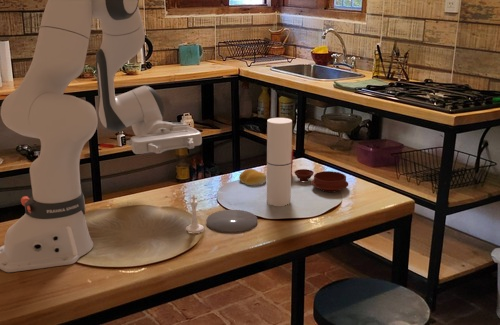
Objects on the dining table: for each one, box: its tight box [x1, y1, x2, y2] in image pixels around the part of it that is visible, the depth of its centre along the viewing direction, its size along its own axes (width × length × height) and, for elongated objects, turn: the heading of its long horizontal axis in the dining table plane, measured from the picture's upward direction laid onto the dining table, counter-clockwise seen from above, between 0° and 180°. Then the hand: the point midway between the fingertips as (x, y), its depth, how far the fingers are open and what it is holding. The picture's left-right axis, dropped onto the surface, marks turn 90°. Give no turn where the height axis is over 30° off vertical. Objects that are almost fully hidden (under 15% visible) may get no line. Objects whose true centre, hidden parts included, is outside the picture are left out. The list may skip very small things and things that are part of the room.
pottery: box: [293, 168, 349, 193], centre depth 183 cm, size 12×20×4 cm, turn 43°
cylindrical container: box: [266, 117, 293, 207], centre depth 166 cm, size 7×7×25 cm
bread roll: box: [239, 168, 267, 186], centre depth 187 cm, size 8×9×4 cm
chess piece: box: [185, 194, 205, 234], centre depth 149 cm, size 5×5×10 cm
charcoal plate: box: [206, 209, 258, 234], centre depth 155 cm, size 14×14×1 cm
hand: (175, 148), depth 155 cm, fingers open, 8 cm apart
